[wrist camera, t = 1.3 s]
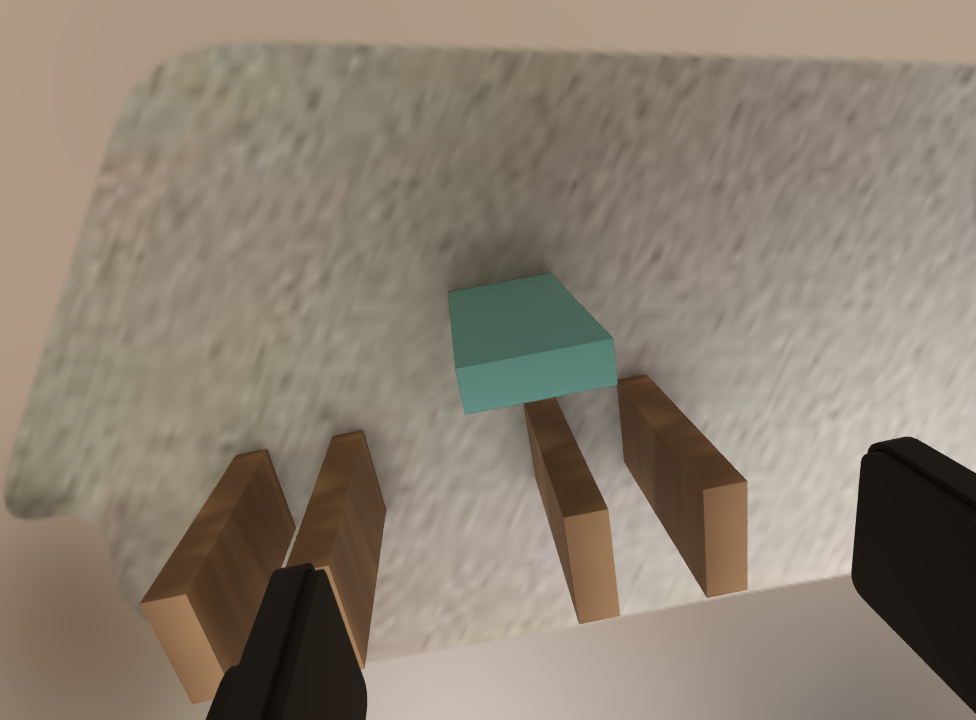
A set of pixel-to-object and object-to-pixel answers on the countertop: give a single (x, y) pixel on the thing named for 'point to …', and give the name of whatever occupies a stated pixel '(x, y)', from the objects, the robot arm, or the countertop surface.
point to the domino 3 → (526, 344)
